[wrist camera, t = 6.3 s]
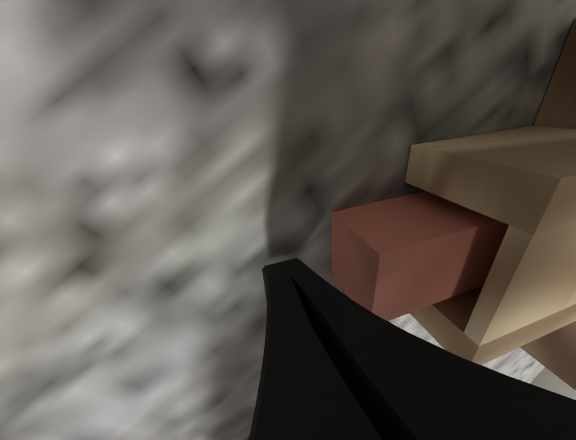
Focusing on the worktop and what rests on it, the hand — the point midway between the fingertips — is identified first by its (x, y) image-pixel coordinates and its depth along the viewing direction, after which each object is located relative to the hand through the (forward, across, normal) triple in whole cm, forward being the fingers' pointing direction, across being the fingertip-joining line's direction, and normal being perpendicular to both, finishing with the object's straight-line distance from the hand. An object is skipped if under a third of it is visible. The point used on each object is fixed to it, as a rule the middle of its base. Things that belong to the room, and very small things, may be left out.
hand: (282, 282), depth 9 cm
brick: (+2, -7, 0) cm, 7 cm away
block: (+1, -10, 0) cm, 10 cm away
